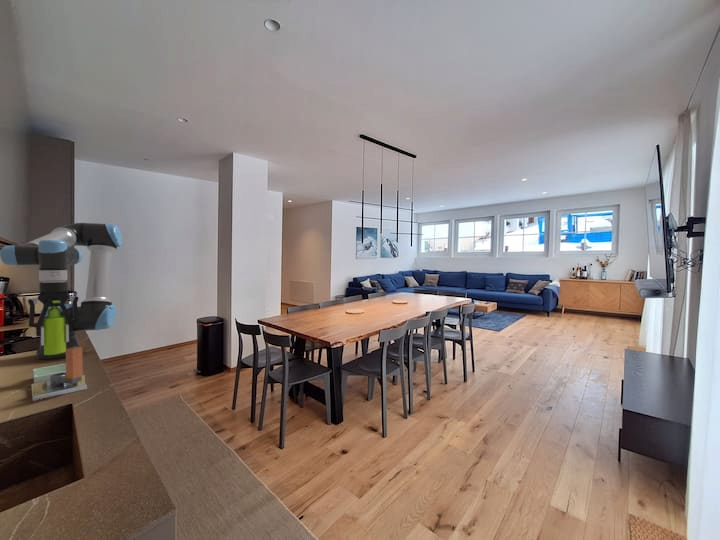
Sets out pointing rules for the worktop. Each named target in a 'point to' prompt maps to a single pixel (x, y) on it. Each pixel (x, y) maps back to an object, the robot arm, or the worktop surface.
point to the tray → (47, 372)
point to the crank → (70, 368)
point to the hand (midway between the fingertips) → (55, 342)
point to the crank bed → (55, 389)
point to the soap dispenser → (54, 331)
